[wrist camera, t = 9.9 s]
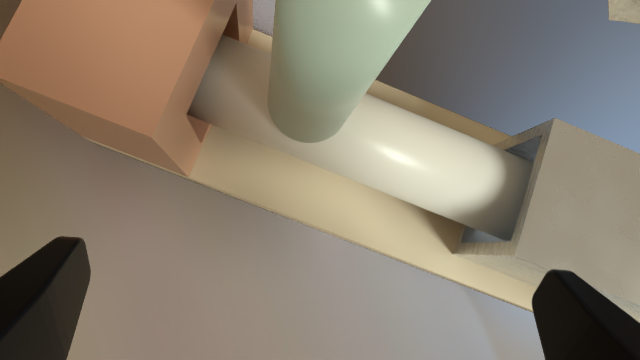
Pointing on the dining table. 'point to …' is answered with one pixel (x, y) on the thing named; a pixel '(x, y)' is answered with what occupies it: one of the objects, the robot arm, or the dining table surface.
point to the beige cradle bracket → (357, 112)
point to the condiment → (624, 10)
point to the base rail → (351, 197)
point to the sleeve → (570, 214)
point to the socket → (122, 68)
